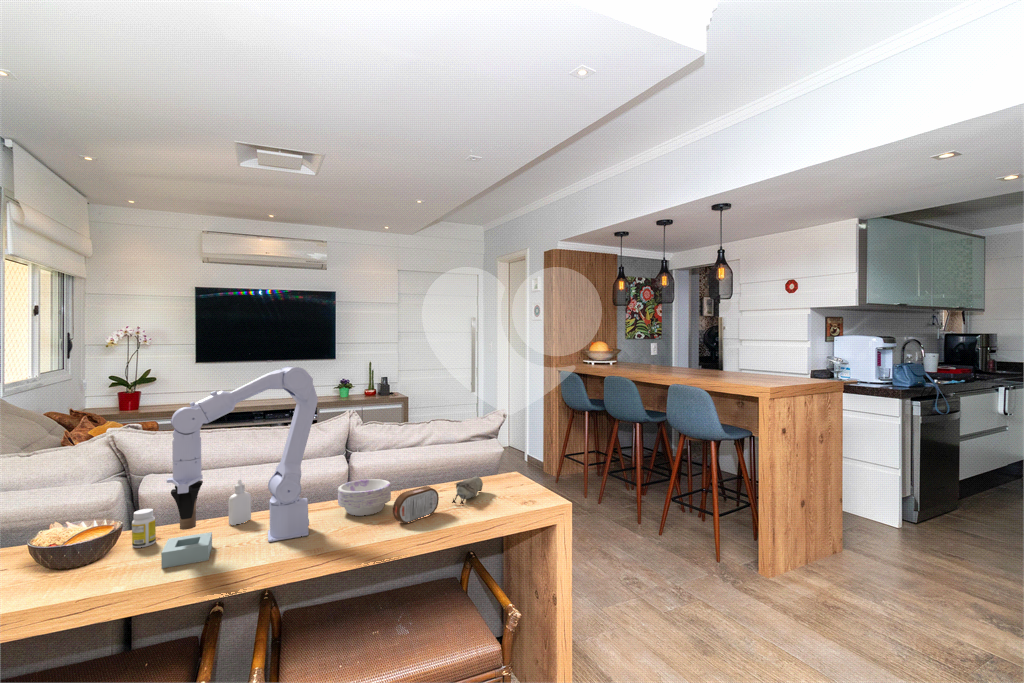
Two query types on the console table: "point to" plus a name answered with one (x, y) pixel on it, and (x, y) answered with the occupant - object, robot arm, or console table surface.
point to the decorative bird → (468, 488)
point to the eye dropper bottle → (239, 505)
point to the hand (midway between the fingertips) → (187, 515)
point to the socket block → (186, 550)
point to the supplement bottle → (143, 528)
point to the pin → (189, 521)
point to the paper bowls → (364, 496)
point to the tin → (415, 504)
